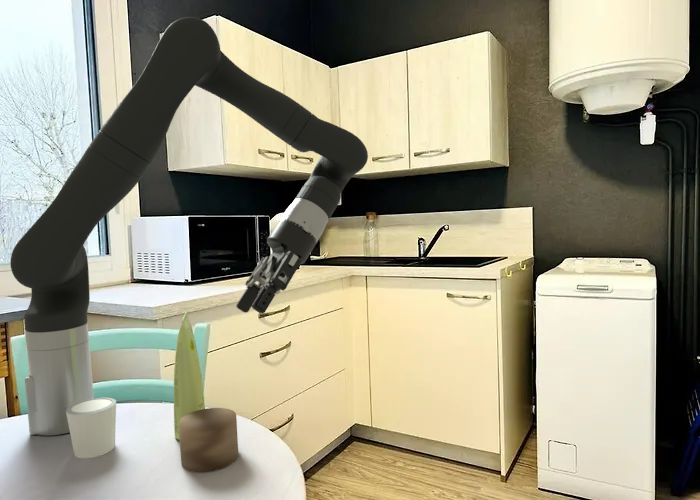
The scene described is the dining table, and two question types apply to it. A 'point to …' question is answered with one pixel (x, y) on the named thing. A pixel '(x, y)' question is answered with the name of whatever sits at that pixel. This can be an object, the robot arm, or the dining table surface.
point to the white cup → (92, 426)
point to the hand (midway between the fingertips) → (248, 310)
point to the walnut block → (208, 440)
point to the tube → (186, 375)
